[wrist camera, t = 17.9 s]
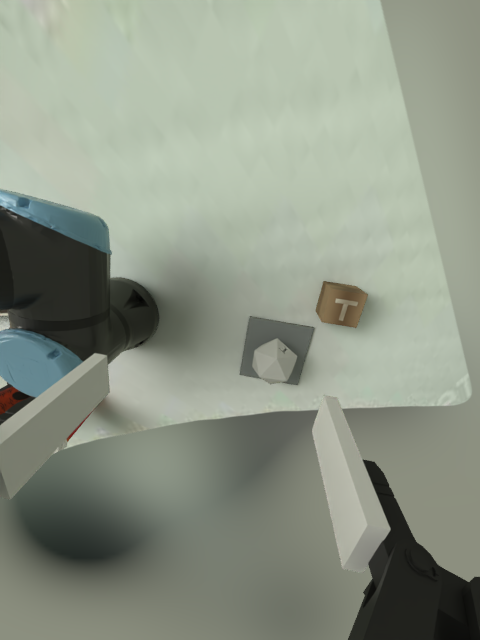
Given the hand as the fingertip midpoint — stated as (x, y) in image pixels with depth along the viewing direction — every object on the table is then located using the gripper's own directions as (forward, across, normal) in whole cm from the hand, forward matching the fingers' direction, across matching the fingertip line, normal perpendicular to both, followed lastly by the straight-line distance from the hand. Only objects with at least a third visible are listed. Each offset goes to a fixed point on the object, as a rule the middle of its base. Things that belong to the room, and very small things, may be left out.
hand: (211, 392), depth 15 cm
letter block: (+35, +17, -2) cm, 39 cm away
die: (+34, +8, -15) cm, 38 cm away
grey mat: (+35, +8, -15) cm, 39 cm away
